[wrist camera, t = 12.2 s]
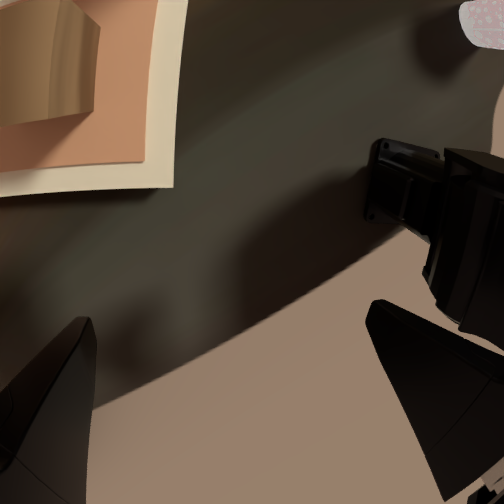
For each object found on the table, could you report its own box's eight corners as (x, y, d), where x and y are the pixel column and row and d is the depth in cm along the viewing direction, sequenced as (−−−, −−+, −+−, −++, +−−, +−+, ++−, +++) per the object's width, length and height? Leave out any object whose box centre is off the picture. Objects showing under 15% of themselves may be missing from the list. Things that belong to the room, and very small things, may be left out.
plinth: (192, -24, 12) (195, -44, 10) (173, 175, 18) (173, 189, 16) (2, 4, 9) (-20, -5, 7) (-6, 186, 15) (-29, 201, 12)
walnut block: (100, 27, 11) (62, -8, 6) (93, 111, 13) (48, 119, 8) (24, 41, 10) (-38, 25, 4) (18, 120, 12) (-47, 138, 6)
